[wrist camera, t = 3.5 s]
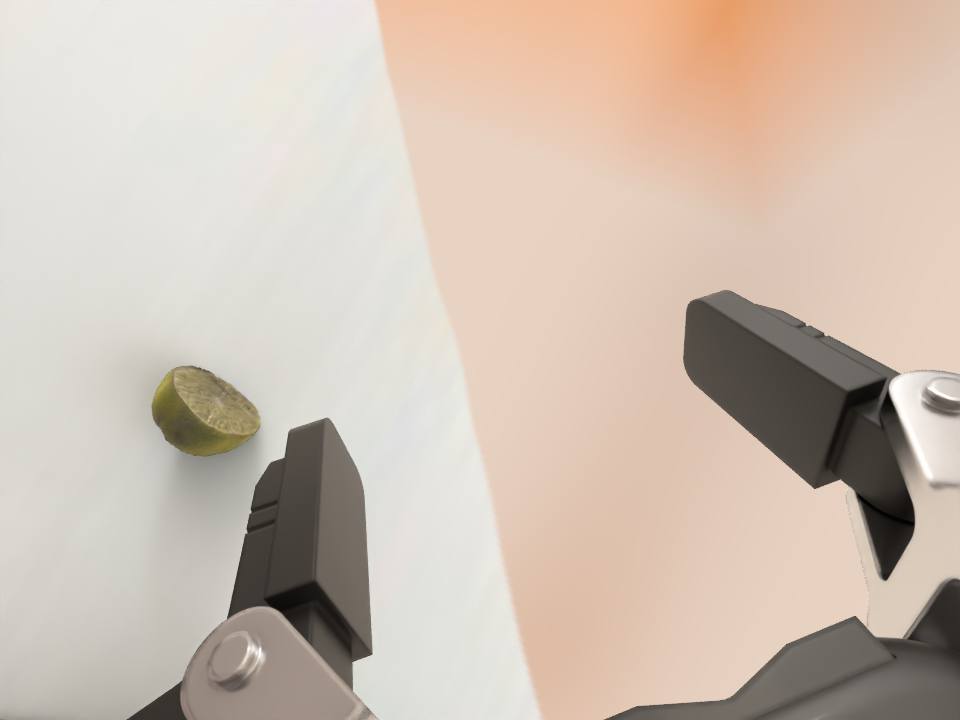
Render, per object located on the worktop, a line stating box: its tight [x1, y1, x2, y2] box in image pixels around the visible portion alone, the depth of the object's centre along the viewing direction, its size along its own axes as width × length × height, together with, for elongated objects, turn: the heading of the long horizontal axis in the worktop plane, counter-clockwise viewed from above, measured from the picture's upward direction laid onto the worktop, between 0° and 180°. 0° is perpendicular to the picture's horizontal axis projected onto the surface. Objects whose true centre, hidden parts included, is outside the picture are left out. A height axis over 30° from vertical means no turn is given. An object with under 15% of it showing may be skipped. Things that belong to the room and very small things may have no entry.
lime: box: [152, 366, 260, 456], centre depth 23 cm, size 4×5×5 cm
